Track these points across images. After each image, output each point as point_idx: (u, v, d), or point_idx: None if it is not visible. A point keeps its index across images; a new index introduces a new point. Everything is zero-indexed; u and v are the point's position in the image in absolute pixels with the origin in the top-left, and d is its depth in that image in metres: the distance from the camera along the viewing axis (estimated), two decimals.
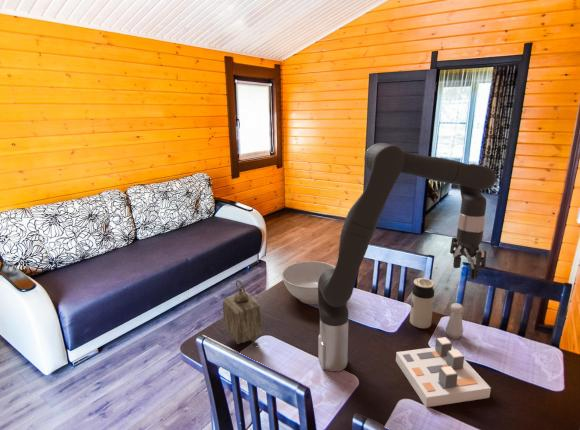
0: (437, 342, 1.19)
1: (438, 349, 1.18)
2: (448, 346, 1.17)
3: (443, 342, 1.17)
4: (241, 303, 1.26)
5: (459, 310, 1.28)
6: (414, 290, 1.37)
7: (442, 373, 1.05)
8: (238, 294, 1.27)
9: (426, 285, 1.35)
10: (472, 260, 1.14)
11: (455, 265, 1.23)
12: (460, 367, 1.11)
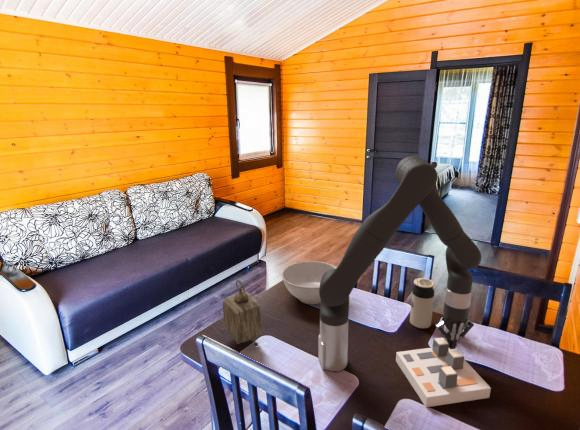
0: (434, 342, 1.19)
1: (435, 350, 1.18)
2: (445, 347, 1.16)
3: (440, 342, 1.17)
4: (241, 303, 1.26)
5: None
6: (414, 290, 1.37)
7: (442, 373, 1.05)
8: (238, 294, 1.27)
9: (426, 285, 1.35)
10: None
11: None
12: (460, 367, 1.11)
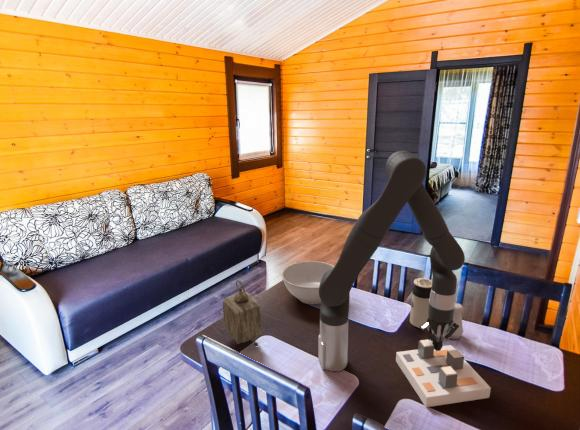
0: (420, 344, 1.18)
1: (420, 352, 1.18)
2: (430, 348, 1.16)
3: (425, 344, 1.16)
4: (241, 303, 1.26)
5: (459, 310, 1.28)
6: (414, 290, 1.37)
7: (442, 373, 1.05)
8: (238, 294, 1.27)
9: (426, 285, 1.35)
10: None
11: None
12: (460, 367, 1.11)
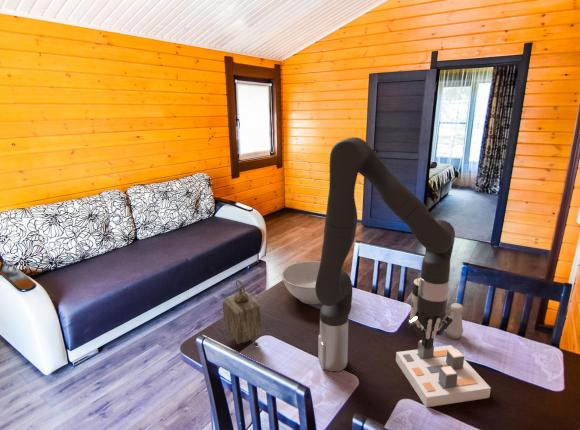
0: (419, 344, 1.18)
1: (420, 352, 1.18)
2: None
3: None
4: (241, 303, 1.26)
5: (459, 310, 1.28)
6: (414, 290, 1.37)
7: (442, 373, 1.05)
8: (238, 294, 1.27)
9: None
10: None
11: None
12: (460, 367, 1.11)
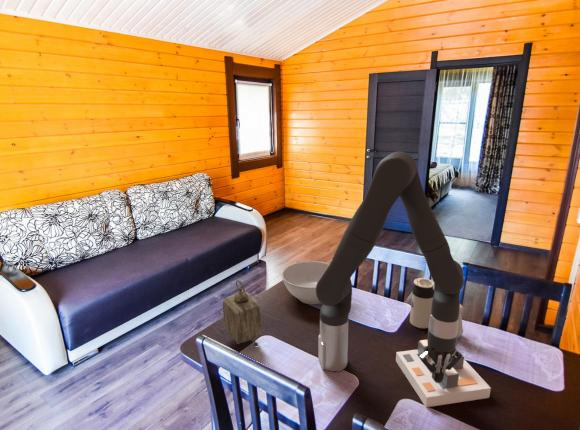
0: (419, 344, 1.18)
1: (420, 352, 1.18)
2: None
3: (425, 344, 1.16)
4: (241, 303, 1.26)
5: (459, 310, 1.28)
6: (414, 290, 1.37)
7: None
8: (238, 294, 1.27)
9: (426, 285, 1.35)
10: None
11: None
12: (460, 367, 1.11)
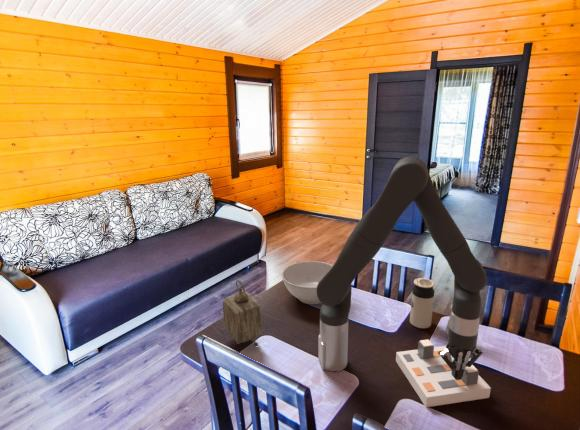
0: (419, 344, 1.18)
1: (420, 352, 1.18)
2: (430, 348, 1.16)
3: (425, 344, 1.16)
4: (241, 303, 1.26)
5: None
6: (414, 290, 1.37)
7: None
8: (238, 294, 1.27)
9: (426, 285, 1.35)
10: None
11: None
12: None
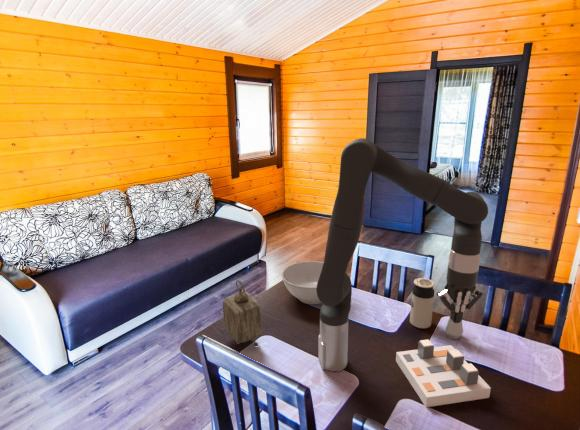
0: (419, 344, 1.18)
1: (420, 352, 1.18)
2: (430, 348, 1.16)
3: (425, 344, 1.16)
4: (241, 303, 1.26)
5: None
6: (414, 290, 1.37)
7: (463, 370, 1.06)
8: (238, 294, 1.27)
9: (426, 285, 1.35)
10: None
11: None
12: None
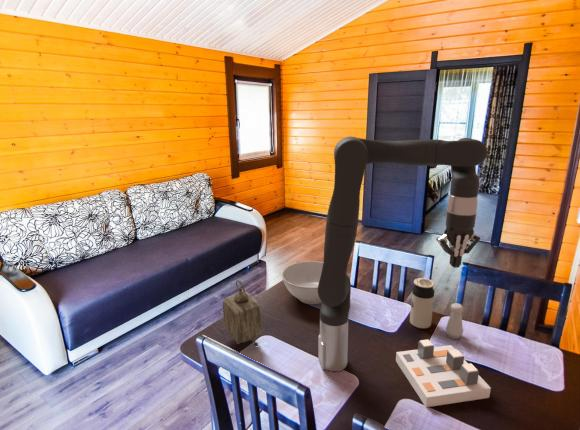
0: (419, 344, 1.18)
1: (420, 352, 1.18)
2: (430, 348, 1.16)
3: (425, 344, 1.16)
4: (241, 303, 1.26)
5: (459, 310, 1.28)
6: (414, 290, 1.37)
7: (463, 370, 1.06)
8: (238, 294, 1.27)
9: (426, 285, 1.35)
10: None
11: None
12: None
